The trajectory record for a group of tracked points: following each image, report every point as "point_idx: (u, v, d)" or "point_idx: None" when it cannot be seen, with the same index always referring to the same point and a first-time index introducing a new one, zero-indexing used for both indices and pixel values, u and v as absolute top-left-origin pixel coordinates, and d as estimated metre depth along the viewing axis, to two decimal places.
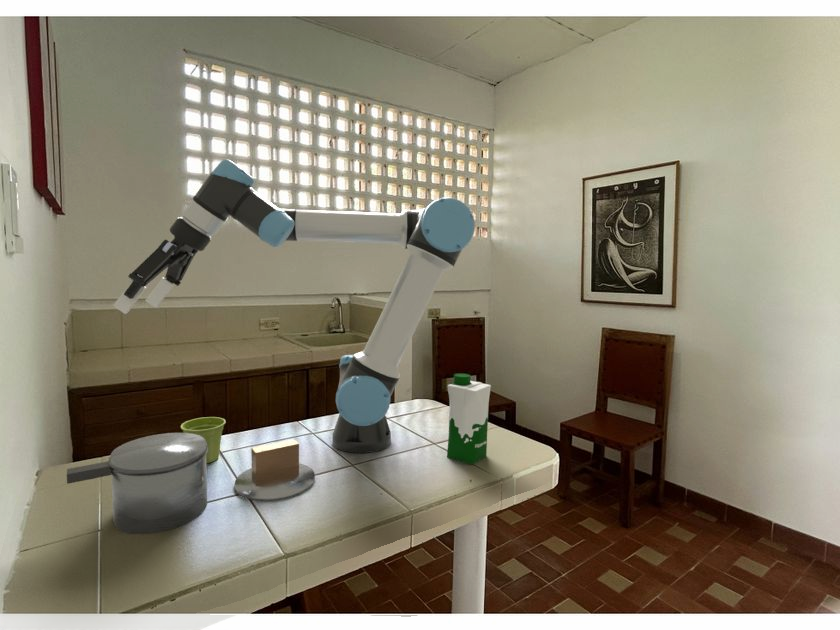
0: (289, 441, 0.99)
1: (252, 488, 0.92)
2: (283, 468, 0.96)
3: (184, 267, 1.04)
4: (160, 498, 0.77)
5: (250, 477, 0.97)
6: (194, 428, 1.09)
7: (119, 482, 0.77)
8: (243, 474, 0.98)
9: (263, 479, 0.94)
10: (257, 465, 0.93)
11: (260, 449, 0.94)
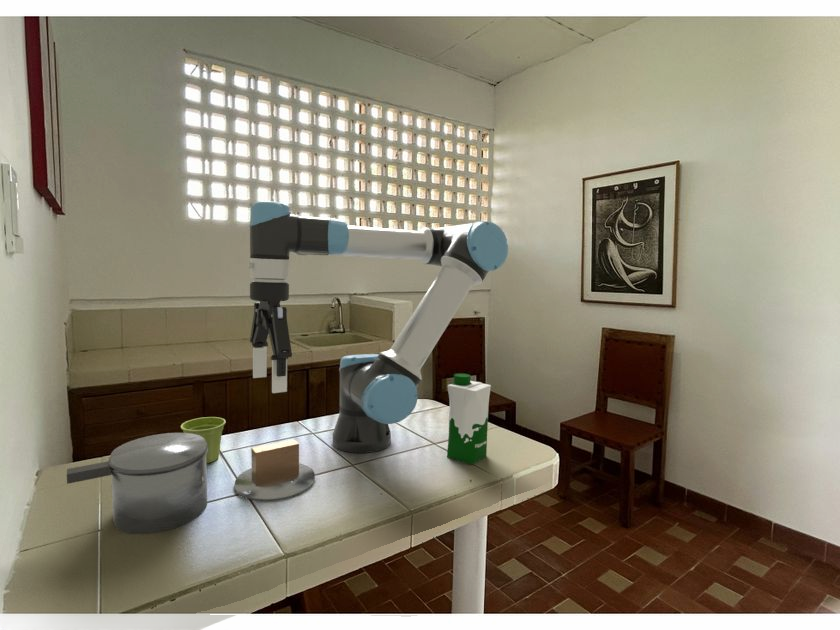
0: (289, 441, 0.99)
1: (252, 488, 0.92)
2: (283, 468, 0.96)
3: None
4: (160, 498, 0.77)
5: (250, 477, 0.97)
6: (194, 428, 1.09)
7: (119, 482, 0.77)
8: (243, 474, 0.98)
9: (263, 479, 0.94)
10: (257, 465, 0.93)
11: (260, 449, 0.94)
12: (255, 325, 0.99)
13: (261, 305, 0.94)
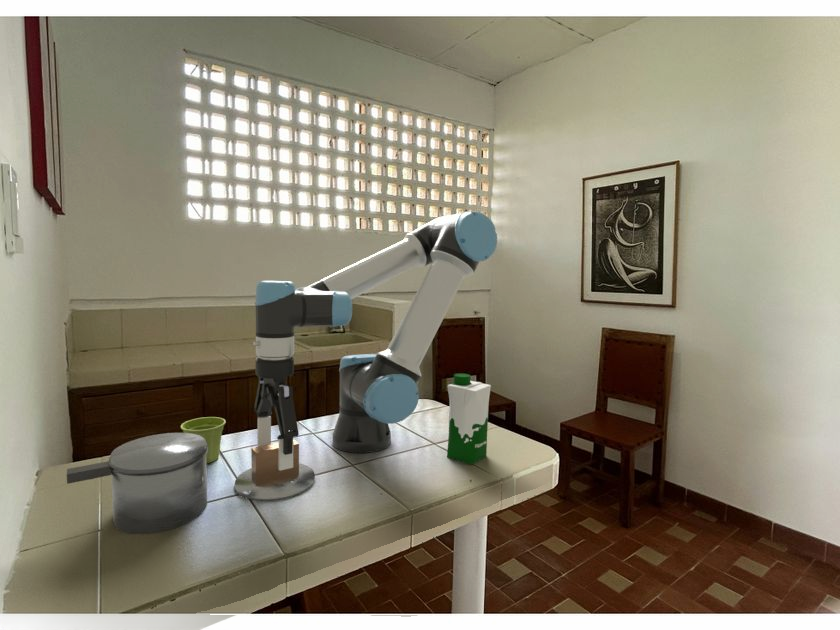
0: None
1: (252, 488, 0.92)
2: None
3: None
4: (160, 498, 0.77)
5: (250, 477, 0.97)
6: (194, 428, 1.09)
7: (119, 482, 0.77)
8: (243, 474, 0.98)
9: (263, 479, 0.94)
10: (257, 465, 0.93)
11: (260, 449, 0.94)
12: (259, 395, 1.00)
13: (266, 379, 0.95)
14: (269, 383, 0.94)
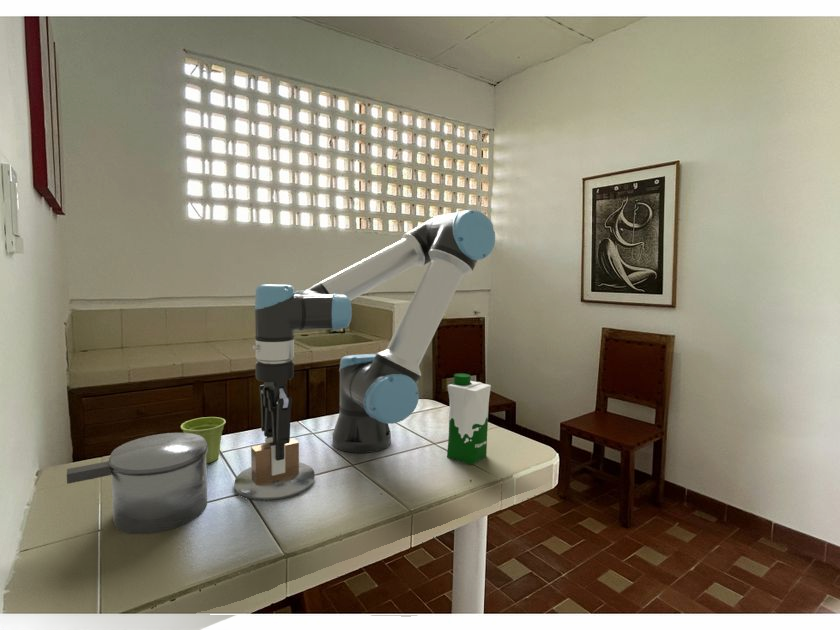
0: None
1: (252, 487, 0.92)
2: None
3: None
4: (160, 498, 0.77)
5: (250, 476, 0.97)
6: (194, 428, 1.09)
7: (119, 482, 0.77)
8: (243, 473, 0.98)
9: (263, 478, 0.94)
10: (257, 463, 0.93)
11: (260, 447, 0.94)
12: (264, 409, 0.98)
13: None
14: (269, 387, 0.94)
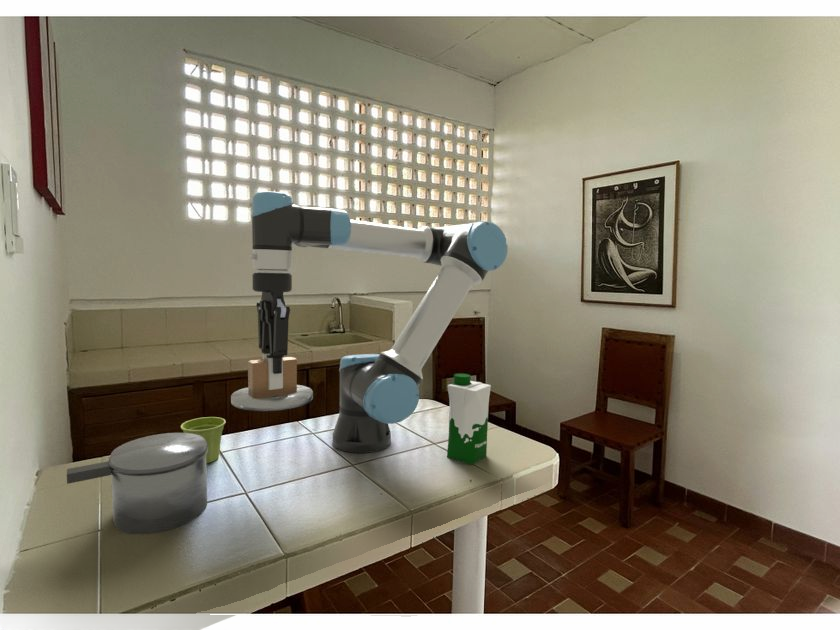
0: (286, 357, 0.97)
1: (249, 399, 0.90)
2: None
3: None
4: (160, 498, 0.77)
5: (247, 392, 0.95)
6: (194, 428, 1.09)
7: (119, 482, 0.77)
8: (240, 390, 0.96)
9: (260, 392, 0.92)
10: (254, 376, 0.91)
11: (257, 361, 0.92)
12: (261, 325, 0.96)
13: (263, 293, 0.94)
14: (267, 299, 0.92)
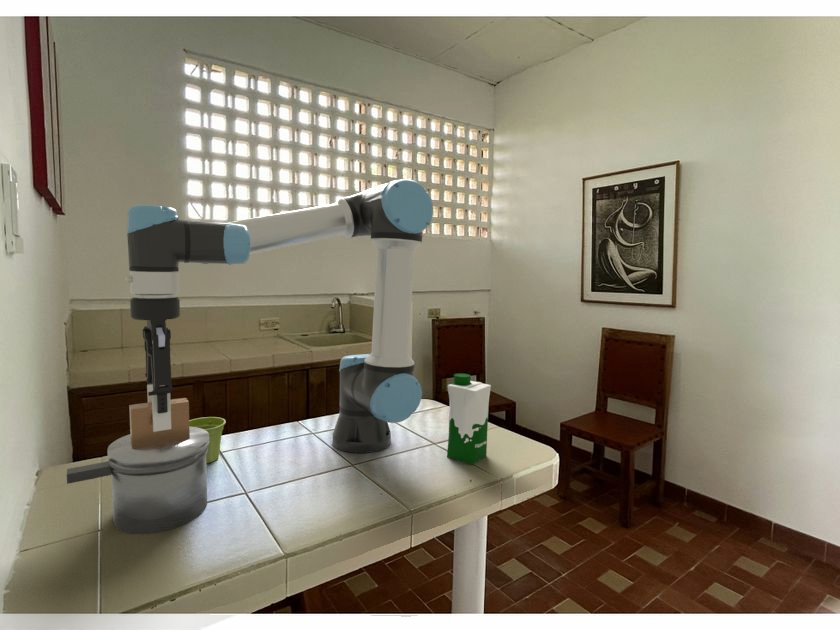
0: (178, 399, 0.85)
1: (127, 451, 0.78)
2: (169, 429, 0.83)
3: None
4: (160, 498, 0.77)
5: (131, 440, 0.83)
6: None
7: (119, 482, 0.77)
8: (124, 437, 0.84)
9: (142, 441, 0.80)
10: (133, 424, 0.79)
11: (139, 406, 0.81)
12: None
13: (147, 321, 0.82)
14: (149, 327, 0.81)
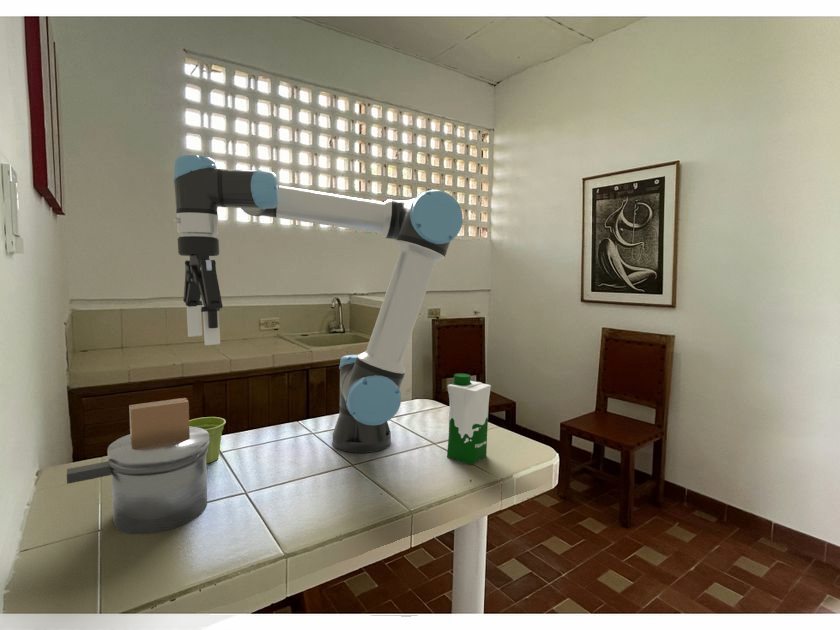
0: (178, 399, 0.85)
1: (126, 451, 0.78)
2: (168, 429, 0.83)
3: None
4: (160, 498, 0.77)
5: (131, 440, 0.83)
6: None
7: (119, 482, 0.77)
8: (124, 437, 0.84)
9: (142, 441, 0.80)
10: (133, 424, 0.79)
11: (139, 406, 0.81)
12: (187, 284, 0.99)
13: (191, 261, 0.94)
14: (193, 263, 0.93)
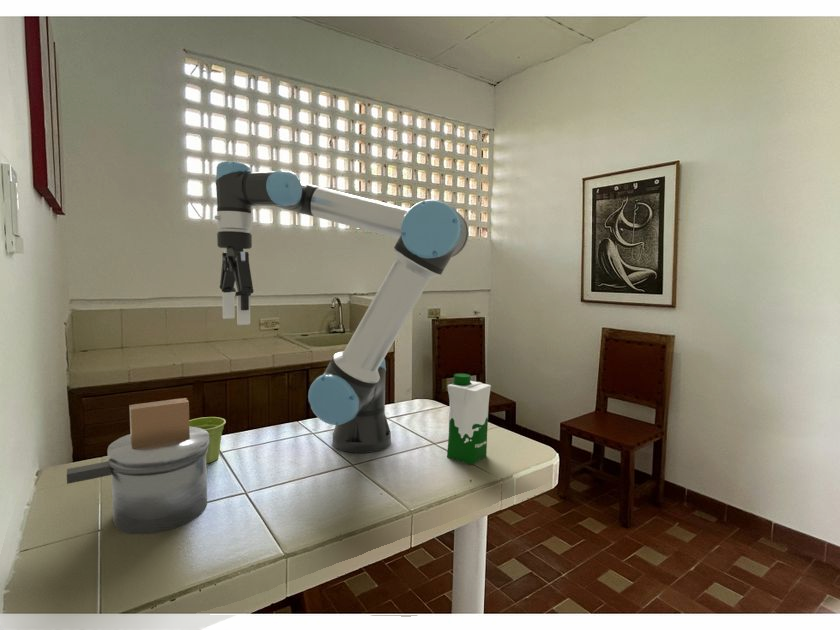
0: (178, 399, 0.85)
1: (126, 451, 0.78)
2: (169, 430, 0.83)
3: None
4: (160, 498, 0.77)
5: (131, 440, 0.83)
6: None
7: (119, 482, 0.77)
8: (124, 437, 0.84)
9: (142, 441, 0.80)
10: (134, 424, 0.79)
11: (139, 406, 0.81)
12: (224, 272, 1.14)
13: (228, 253, 1.09)
14: (230, 254, 1.08)
